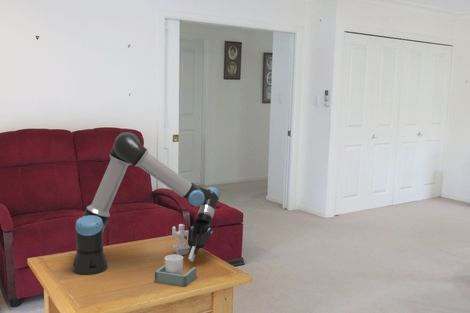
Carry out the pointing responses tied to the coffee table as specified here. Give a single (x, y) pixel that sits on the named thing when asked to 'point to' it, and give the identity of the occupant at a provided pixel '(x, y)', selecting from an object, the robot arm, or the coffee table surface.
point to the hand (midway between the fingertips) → (190, 260)
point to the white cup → (174, 264)
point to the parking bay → (174, 277)
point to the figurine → (180, 240)
